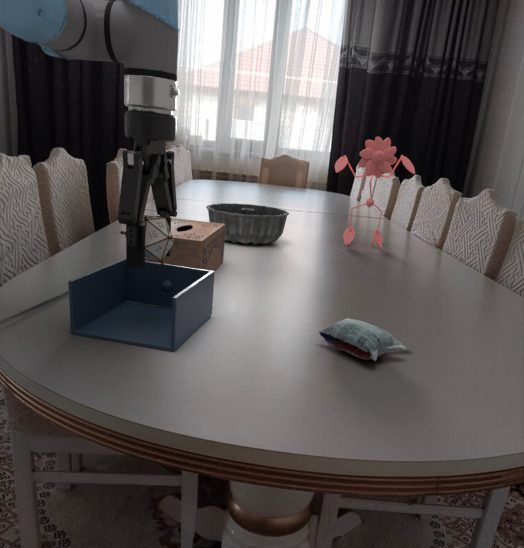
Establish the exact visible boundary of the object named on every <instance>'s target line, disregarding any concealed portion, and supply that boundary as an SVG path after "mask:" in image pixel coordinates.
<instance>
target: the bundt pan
mask: <svg viewBox="0 0 524 548" xmlns="http://www.w3.org/2000/svg"><path fill="white" fill-rule="evenodd" d="M205 207H206V210H207V212H208V222H212V223H221V224H226V227H225V241H226V242H232V243H233V244H236V243H241V244H245V245H246V244H247V245H248V244H250V243H251V244H252V245H253V246H254V245H255V246H256V245H258V244H259V245H260V244H261V245H265V244H273V243H275V242H277V241H278V240H279V239H280V238H281V236H282V235H283V234H284V230H285V227H286V222H287V218H288V216H289V214H290V212H289V211H287V210H286V209H281V208H279V207H278V208H277V207H273V206H266V205H259V204H251V203H237V202H236V203H235V202H233V203H225V202H222V203H211V204H208V205H206V206H205Z"/></svg>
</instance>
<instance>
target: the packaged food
mask: <svg viewBox="0 0 524 548" xmlns="http://www.w3.org/2000/svg"><path fill="white" fill-rule="evenodd" d="M318 333H319V335H320V336H321V337H322V338H323V339H324V341H325V342H326V343H327V344H328V345H329V346H332V347H334V348H335V349H338V350H341V351H343V352H345V353H347V354H348V355H349V354H350V355H351V356H354V357H356V358H359V359H361V360H365V361H368V360H372V361H374V362H377V360H378V357H382V356H384V355H387V354H390V353H395V352H399V351H404V352H406V351H407V347H406V346H405V345H404V344H403V343H402V342H401V341H400V340H398V339H395V337H394V336H393V334H392V333H390V332H388V331H386V330H384V329H383V328H381V327H379V326H377V325H375V324H374V325H373V324H370V323H369V322H366V321H364V320H359V319H353V318H352V319H351V318H350V317H347V318H345V319H342V320H340V321H338V322H335V323H332V324H331V325H330V326H328V327H325V328H323V329H321V330H319V331H318Z"/></svg>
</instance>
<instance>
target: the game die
mask: <svg viewBox="0 0 524 548" xmlns="http://www.w3.org/2000/svg"><path fill="white" fill-rule="evenodd" d="M157 216H158V215H146V214H144V217H143V221H142V225H144V226H145V260H150V261H160V262H161V265H163V266H164V262H163V261H162V260H163V259H164V257H165V256H166V254H167V253H168V251H169V250H170V249H171V247H172V246H173V244H175V245H178V244H179V243H178V242H174V240H173V237H172V234H171V231H170V228H169V225H168V222H167V219H166V218H168V216H169V213H168V214H166V215H165V217H157ZM119 234H120V235H124V236H125V237H126V231H124V230H121V231H119Z"/></svg>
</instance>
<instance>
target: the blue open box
mask: <svg viewBox="0 0 524 548" xmlns="http://www.w3.org/2000/svg"><path fill="white" fill-rule="evenodd" d="M67 283H68V284H67V285H68V303H69V305H68V306H69V321H70V322H69V323H70V325H69V327H70V335H71V334H72V335H76V336H83V337H87V338H94V339H99V340H105V341H110V342H116V343H121V344H127V345H132V346H138V347H143V348H149V349H156V350H162V351H167V352H173V353H175V352H176V351H177V350H178V349H179V348H180V347H181V346H182V345H183V344H184V343H186V342H187V341H188V340H189V339H190V338H191V337H192V336H194V334H195V333H196V332H197V331H198V330H199V329H200V328H201V327H202V326H203V325H205V323H207V321H209V320H210V319H211V317H212V315H213V304H214V303H213V301H214V285H215V272H214V271H210V270H203V269H196V268H190V267H183V266H176V265H169V264H164V266H163V265H161V263H155V262H149V261H145V268H144V269H138V268H131V267H126V257H124V258H122V259H119V260H117V261H113V262H112V263H109V264H107V265H104V266H102V267H99V268H97V269H95V270H92V271H89V272H87V273H84V274H82V275H80V276H78V277H75V278H73V279H70V280H68V281H67Z"/></svg>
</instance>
